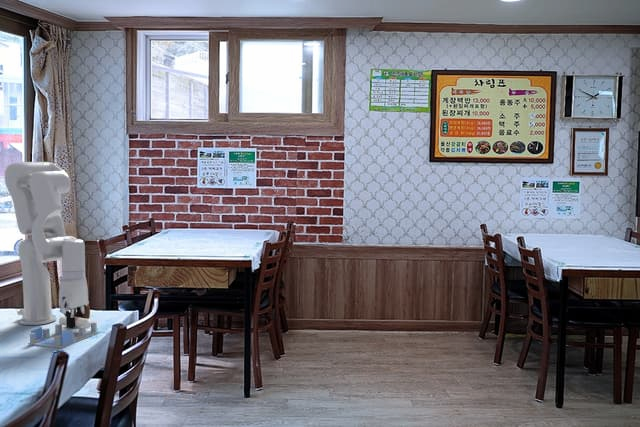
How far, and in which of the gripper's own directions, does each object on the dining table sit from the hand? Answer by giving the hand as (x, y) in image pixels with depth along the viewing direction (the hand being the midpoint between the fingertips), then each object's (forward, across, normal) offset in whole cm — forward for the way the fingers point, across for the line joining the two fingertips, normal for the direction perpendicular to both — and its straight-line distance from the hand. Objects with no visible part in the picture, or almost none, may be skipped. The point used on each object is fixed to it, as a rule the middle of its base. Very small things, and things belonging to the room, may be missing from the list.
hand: (75, 325), depth 227 cm
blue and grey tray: (+3, +6, +1) cm, 7 cm away
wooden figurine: (+3, -13, -8) cm, 15 cm away
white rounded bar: (-1, 0, 0) cm, 1 cm away
